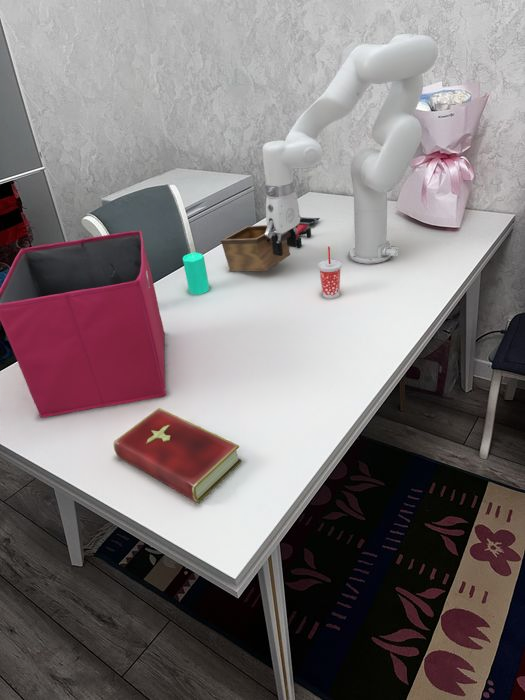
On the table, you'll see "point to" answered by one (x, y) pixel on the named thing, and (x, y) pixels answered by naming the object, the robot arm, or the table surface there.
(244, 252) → the wooden drawer
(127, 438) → the hardcover book
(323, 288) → the beverage cup
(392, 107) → the robot arm
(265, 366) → the table surface
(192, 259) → the candle
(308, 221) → the red board with handle
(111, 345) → the storage bin
